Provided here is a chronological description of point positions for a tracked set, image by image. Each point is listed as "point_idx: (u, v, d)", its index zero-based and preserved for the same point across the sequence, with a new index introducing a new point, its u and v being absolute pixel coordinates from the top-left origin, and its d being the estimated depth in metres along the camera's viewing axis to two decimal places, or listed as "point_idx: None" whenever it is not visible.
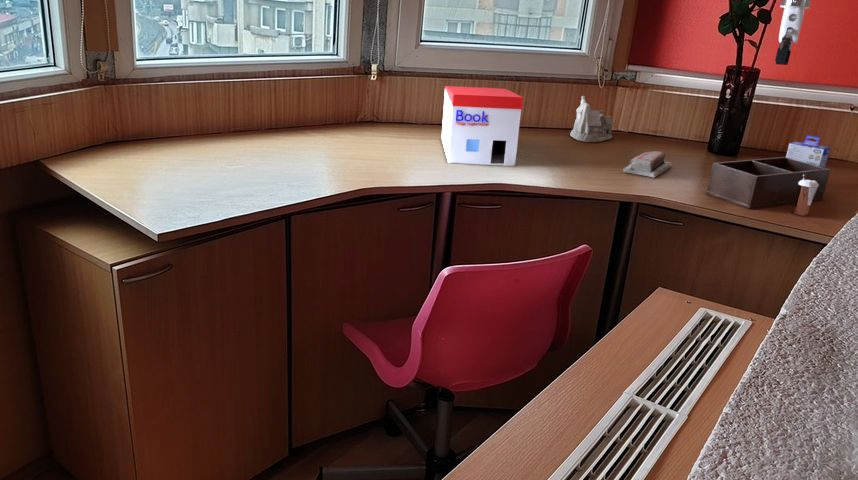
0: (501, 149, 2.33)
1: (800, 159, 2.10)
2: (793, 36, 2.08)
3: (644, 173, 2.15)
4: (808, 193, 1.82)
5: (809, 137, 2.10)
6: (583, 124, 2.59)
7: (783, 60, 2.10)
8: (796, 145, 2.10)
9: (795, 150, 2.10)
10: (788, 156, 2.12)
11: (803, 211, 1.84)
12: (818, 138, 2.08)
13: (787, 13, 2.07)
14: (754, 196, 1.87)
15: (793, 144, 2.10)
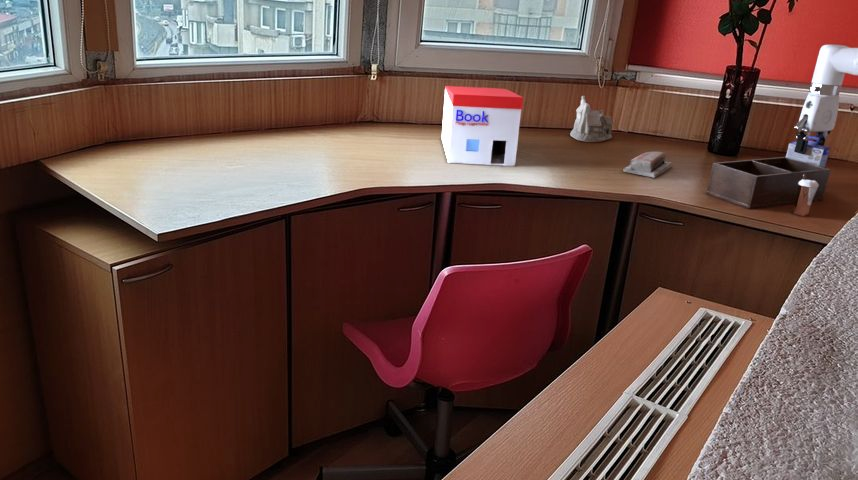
0: (501, 149, 2.33)
1: (800, 159, 2.09)
2: (808, 126, 2.04)
3: (644, 173, 2.15)
4: (808, 193, 1.82)
5: (809, 137, 2.10)
6: (583, 124, 2.59)
7: (798, 149, 2.07)
8: None
9: None
10: (788, 156, 2.12)
11: (803, 211, 1.84)
12: (818, 138, 2.08)
13: (806, 100, 2.04)
14: (754, 196, 1.87)
15: (793, 144, 2.10)
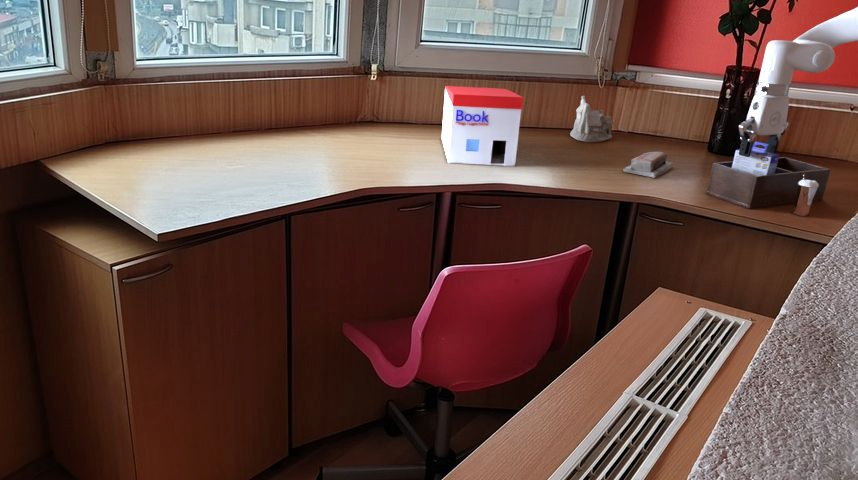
0: (501, 149, 2.33)
1: (747, 167, 1.93)
2: (754, 126, 1.86)
3: (644, 173, 2.15)
4: (808, 193, 1.82)
5: (757, 143, 1.93)
6: (583, 124, 2.59)
7: (743, 151, 1.90)
8: None
9: (742, 157, 1.93)
10: (735, 164, 1.95)
11: (803, 211, 1.84)
12: (766, 144, 1.91)
13: (752, 101, 1.87)
14: (754, 196, 1.87)
15: None
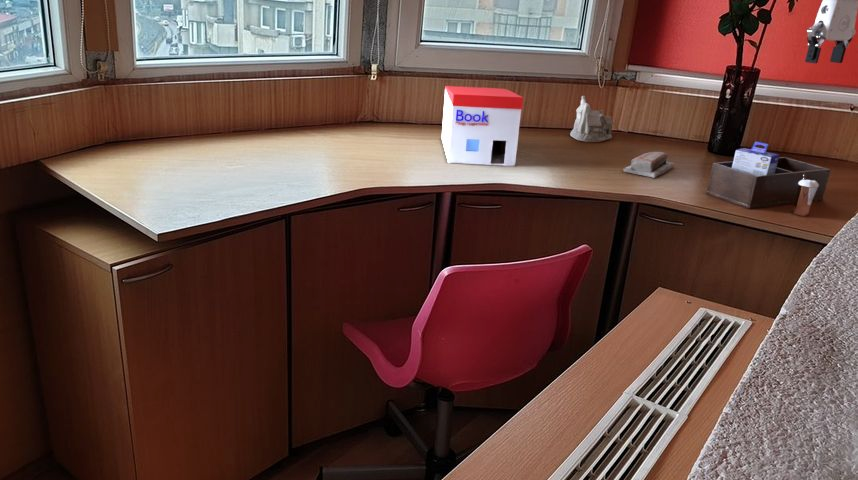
0: (501, 149, 2.33)
1: (747, 167, 1.93)
2: (823, 31, 1.84)
3: (644, 173, 2.15)
4: (808, 193, 1.82)
5: (757, 143, 1.93)
6: (583, 124, 2.59)
7: (810, 57, 1.87)
8: (743, 152, 1.93)
9: (742, 157, 1.93)
10: (735, 164, 1.95)
11: (803, 211, 1.84)
12: (766, 144, 1.91)
13: (821, 5, 1.84)
14: (754, 196, 1.87)
15: (740, 151, 1.93)
